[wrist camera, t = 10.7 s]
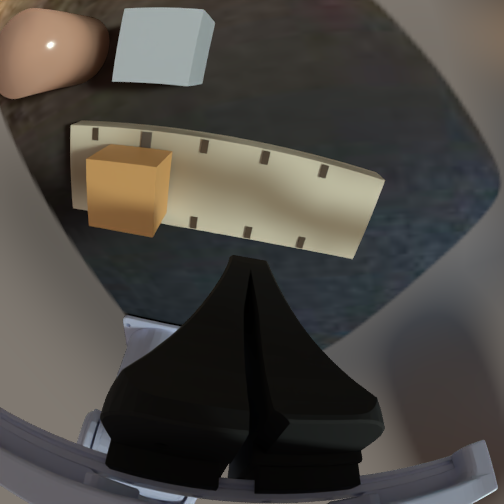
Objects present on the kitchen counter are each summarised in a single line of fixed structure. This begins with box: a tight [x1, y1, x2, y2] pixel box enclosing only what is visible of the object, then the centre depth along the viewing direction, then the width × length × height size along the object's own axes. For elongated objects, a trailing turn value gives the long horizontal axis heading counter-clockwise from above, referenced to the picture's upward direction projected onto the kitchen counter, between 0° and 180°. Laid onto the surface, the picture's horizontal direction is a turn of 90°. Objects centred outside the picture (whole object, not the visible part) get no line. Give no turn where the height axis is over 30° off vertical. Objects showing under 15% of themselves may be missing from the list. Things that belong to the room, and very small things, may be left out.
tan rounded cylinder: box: [0, 8, 110, 99], centre depth 11 cm, size 5×5×6 cm
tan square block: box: [86, 144, 172, 237], centre depth 16 cm, size 4×4×3 cm
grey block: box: [112, 8, 215, 86], centre depth 13 cm, size 4×4×4 cm
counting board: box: [70, 120, 385, 259], centre depth 18 cm, size 6×20×2 cm, turn 78°
